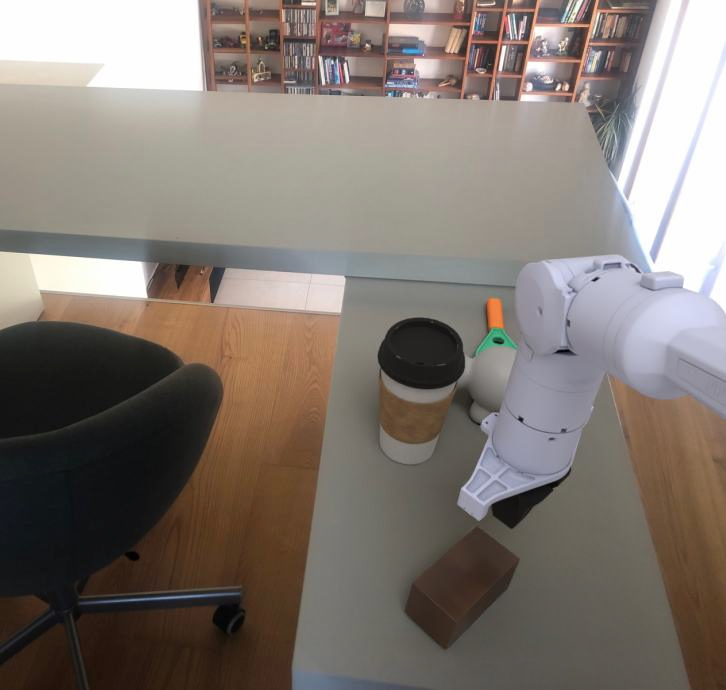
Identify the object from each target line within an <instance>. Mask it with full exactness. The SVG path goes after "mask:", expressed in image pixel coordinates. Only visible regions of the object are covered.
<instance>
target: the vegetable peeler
mask: <svg viewBox="0 0 726 690" xmlns="http://www.w3.org/2000/svg"><path fill="white" fill-rule="evenodd" d="M486 313H487V315H486V316H487V328H488V333H487V335H486V337H485V338H484V339H483V340H482V342H481V344H480V345H479V346H478V348H477V349H476V351H475V354H474V357H475V356H476V355H477V354H479V353H480V352H481V351H483V350H485V349H487V348H490V347H495V346H506V347H510V348H513V349H516V350H517V348H518V345H516V344H515V342H514V341H513V339H512V338H511V337H510V336H509V335H508V334H507V332H506V331H505V325H504V315H503V305H502V300H501V299H500V298H497V297H495V298H494V297H490V298H488V299H487V300H486ZM496 342H498V343H500V344H498V343H496Z"/></svg>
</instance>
